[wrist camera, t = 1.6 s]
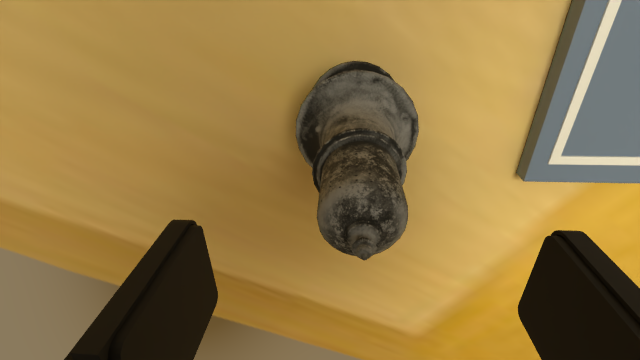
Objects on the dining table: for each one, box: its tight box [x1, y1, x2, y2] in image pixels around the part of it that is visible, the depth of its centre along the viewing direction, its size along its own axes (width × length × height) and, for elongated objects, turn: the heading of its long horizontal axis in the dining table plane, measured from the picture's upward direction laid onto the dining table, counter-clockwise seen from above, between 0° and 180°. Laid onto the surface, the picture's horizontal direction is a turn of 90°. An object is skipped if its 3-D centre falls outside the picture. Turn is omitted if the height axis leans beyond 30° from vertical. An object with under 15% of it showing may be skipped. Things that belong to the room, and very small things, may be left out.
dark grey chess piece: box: [296, 61, 419, 260], centre depth 14 cm, size 6×6×12 cm
